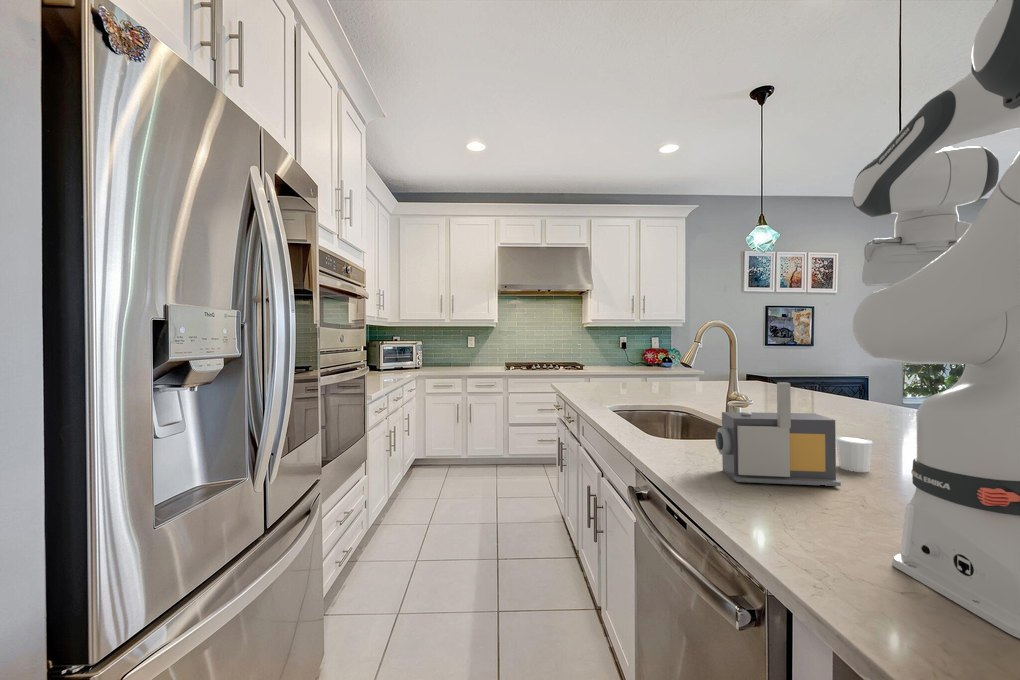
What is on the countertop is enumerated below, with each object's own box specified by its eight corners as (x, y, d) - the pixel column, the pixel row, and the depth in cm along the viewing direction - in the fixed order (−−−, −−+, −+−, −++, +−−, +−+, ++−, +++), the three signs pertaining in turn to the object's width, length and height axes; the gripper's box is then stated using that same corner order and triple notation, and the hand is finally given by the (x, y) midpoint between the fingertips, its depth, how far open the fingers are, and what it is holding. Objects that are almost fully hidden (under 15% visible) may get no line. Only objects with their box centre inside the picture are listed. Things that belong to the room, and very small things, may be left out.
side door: (791, 477, 89) (790, 383, 89) (740, 475, 91) (739, 383, 90) (788, 475, 90) (787, 382, 90) (737, 473, 92) (736, 382, 92)
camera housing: (840, 489, 87) (840, 418, 87) (726, 484, 91) (725, 416, 91) (815, 473, 97) (814, 410, 97) (713, 470, 101) (712, 409, 101)
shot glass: (859, 464, 104) (859, 436, 103) (881, 473, 97) (880, 443, 97) (829, 464, 104) (829, 435, 104) (848, 473, 97) (848, 442, 97)
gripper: (875, 235, 80) (875, 308, 80) (1003, 228, 76) (1004, 305, 76) (854, 242, 86) (855, 310, 86) (972, 237, 82) (972, 307, 82)
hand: (926, 307), depth 81 cm, fingers closed
